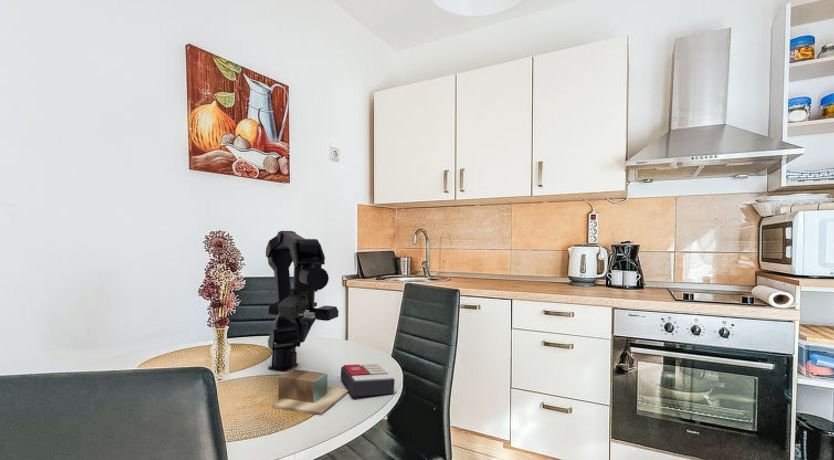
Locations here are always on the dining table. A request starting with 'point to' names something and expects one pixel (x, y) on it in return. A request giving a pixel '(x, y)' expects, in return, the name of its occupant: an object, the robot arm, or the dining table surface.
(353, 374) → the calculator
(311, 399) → the walnut block
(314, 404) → the beige cloth
